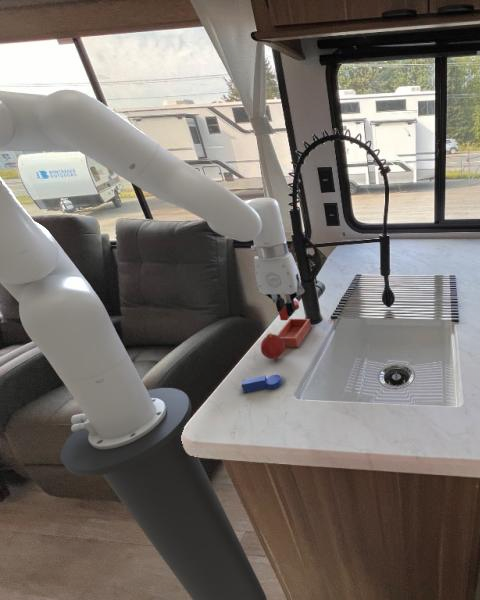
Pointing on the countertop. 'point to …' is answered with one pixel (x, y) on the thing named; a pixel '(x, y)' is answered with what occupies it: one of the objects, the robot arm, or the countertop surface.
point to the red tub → (294, 332)
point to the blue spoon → (261, 383)
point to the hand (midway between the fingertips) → (287, 313)
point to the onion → (272, 346)
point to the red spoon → (284, 313)
